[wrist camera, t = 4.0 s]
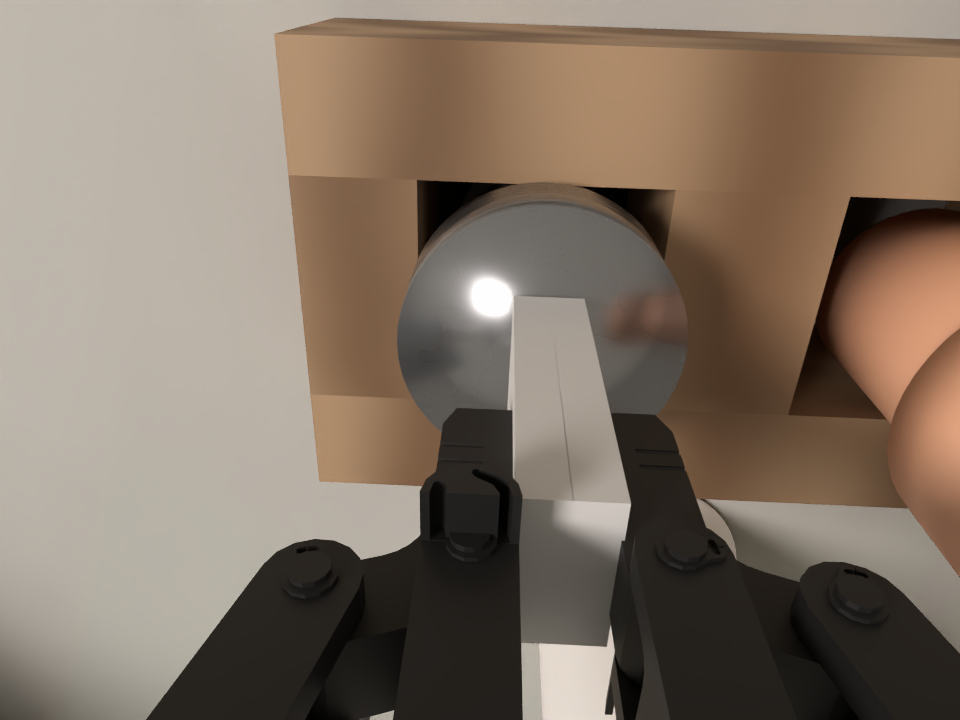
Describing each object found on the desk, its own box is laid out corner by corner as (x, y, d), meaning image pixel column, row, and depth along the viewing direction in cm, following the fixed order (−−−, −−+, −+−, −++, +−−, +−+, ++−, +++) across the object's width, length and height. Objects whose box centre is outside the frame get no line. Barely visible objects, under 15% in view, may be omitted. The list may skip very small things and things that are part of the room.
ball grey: (431, 319, 24) (400, 460, 17) (430, 125, 21) (392, 201, 14) (618, 327, 24) (664, 472, 17) (645, 133, 21) (714, 214, 14)
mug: (840, 501, 28) (1039, 817, 18) (775, 646, 32) (904, 974, 22) (545, 470, 28) (567, 772, 17) (517, 621, 32) (522, 939, 21)
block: (357, 378, 26) (319, 481, 21) (334, 17, 20) (274, 34, 15) (960, 404, 26) (1076, 516, 20) (1111, 44, 20) (1328, 70, 15)
